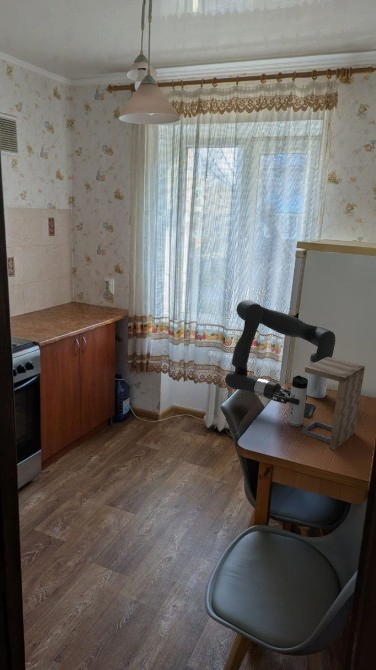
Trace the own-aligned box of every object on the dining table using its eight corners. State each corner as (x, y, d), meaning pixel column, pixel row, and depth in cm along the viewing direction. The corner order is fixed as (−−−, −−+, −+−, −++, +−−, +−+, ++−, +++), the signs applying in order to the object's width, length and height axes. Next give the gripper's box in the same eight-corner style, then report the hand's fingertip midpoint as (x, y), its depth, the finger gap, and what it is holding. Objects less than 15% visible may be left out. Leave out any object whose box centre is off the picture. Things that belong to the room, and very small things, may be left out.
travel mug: (299, 420, 195) (305, 375, 190) (304, 427, 189) (310, 381, 184) (285, 419, 195) (290, 375, 190) (289, 426, 189) (295, 380, 184)
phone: (315, 404, 211) (310, 416, 198) (315, 407, 211) (310, 419, 198) (298, 401, 214) (292, 412, 200) (298, 403, 214) (291, 415, 201)
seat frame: (314, 423, 193) (314, 420, 192) (342, 433, 185) (342, 429, 185) (301, 432, 184) (301, 429, 183) (329, 443, 176) (330, 439, 176)
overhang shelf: (318, 420, 196) (327, 356, 189) (354, 432, 186) (365, 366, 179) (296, 435, 181) (305, 367, 174) (334, 450, 171) (345, 377, 164)
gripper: (259, 384, 192) (295, 396, 181) (276, 377, 202) (312, 387, 192) (257, 401, 194) (293, 413, 183) (275, 393, 204) (309, 404, 194)
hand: (302, 400), depth 188 cm, fingers closed on travel mug, 6 cm apart
